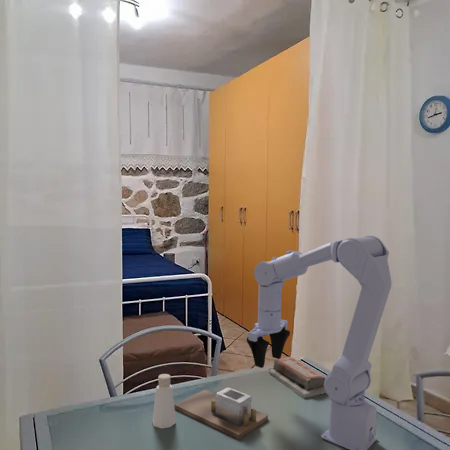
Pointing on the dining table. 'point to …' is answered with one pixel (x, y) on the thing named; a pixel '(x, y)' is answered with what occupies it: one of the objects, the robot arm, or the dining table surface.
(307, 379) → the packaged product
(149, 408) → the dining table surface
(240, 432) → the walnut tray
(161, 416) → the salt shaker
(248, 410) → the block
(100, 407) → the dining table surface
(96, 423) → the dining table surface
